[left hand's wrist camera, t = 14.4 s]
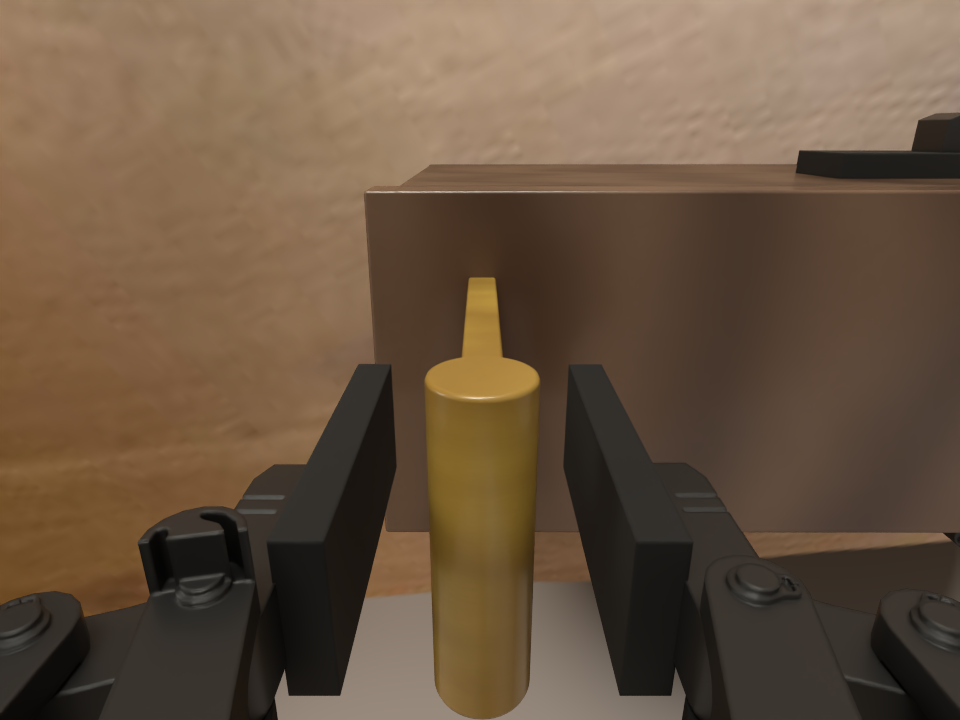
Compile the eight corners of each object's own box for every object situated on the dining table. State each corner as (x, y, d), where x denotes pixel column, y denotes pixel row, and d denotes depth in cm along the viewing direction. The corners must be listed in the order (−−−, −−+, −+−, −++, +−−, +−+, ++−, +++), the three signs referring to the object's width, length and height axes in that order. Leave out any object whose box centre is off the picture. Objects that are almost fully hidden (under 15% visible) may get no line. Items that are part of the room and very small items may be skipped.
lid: (391, 508, 20) (321, 802, 11) (371, 185, 16) (246, 249, 8) (941, 508, 20) (1301, 804, 11) (1042, 186, 16) (1685, 248, 8)
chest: (435, 378, 30) (412, 507, 20) (430, 164, 27) (397, 186, 16) (782, 378, 30) (940, 507, 20) (823, 164, 26) (1040, 185, 16)
